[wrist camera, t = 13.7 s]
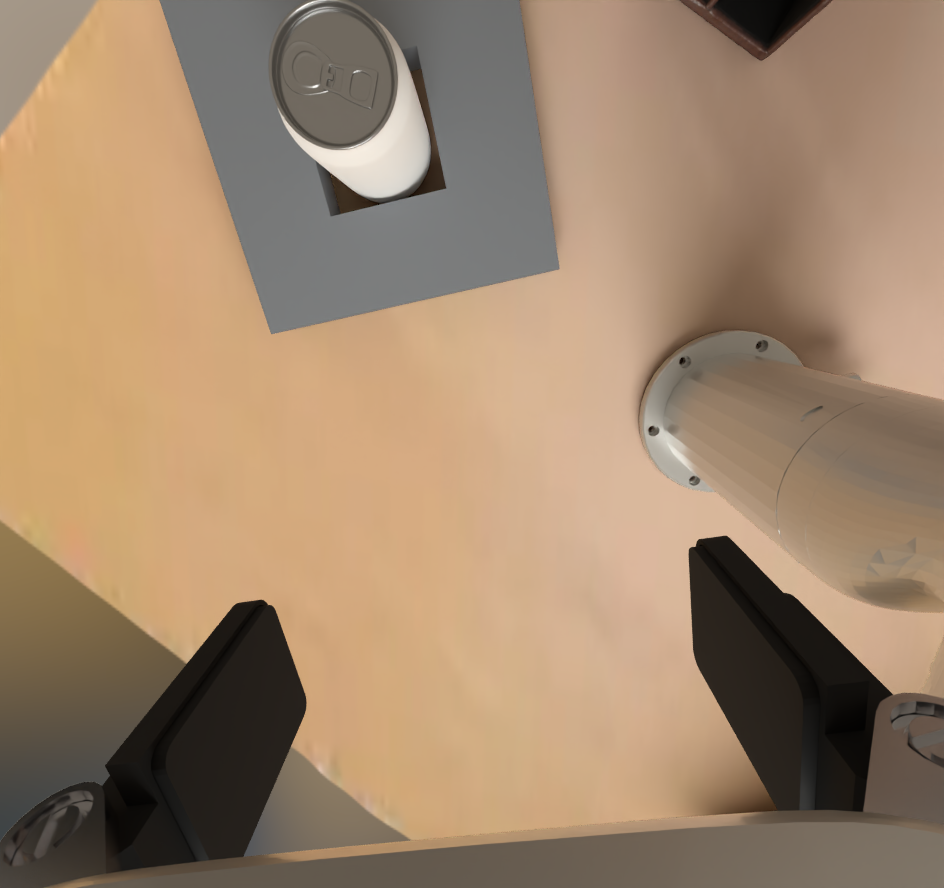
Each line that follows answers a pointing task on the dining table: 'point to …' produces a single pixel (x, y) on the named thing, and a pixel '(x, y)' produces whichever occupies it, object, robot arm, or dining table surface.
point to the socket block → (390, 224)
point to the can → (350, 98)
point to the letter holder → (758, 20)
